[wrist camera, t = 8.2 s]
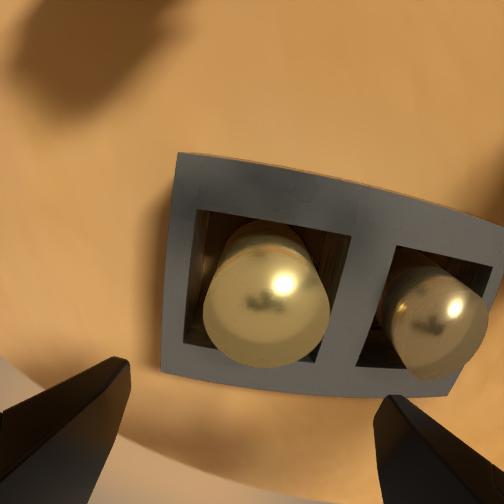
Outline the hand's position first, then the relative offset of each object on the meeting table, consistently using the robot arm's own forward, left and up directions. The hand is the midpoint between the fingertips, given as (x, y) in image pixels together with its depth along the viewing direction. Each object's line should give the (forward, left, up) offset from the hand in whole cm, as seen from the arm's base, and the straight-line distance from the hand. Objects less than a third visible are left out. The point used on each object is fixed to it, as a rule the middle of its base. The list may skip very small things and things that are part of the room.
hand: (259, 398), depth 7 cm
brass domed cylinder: (0, 0, -10) cm, 10 cm away
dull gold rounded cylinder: (-8, 0, -10) cm, 13 cm away
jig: (-4, 0, -10) cm, 11 cm away
